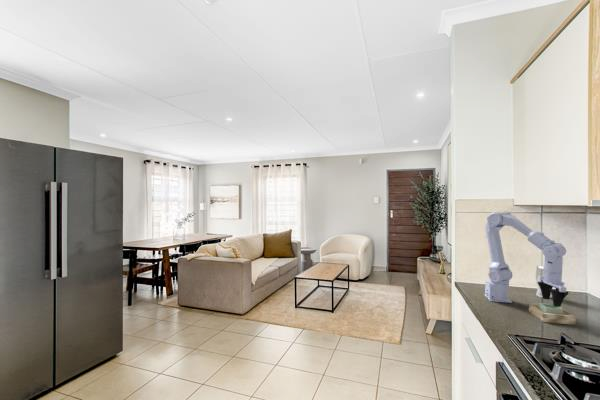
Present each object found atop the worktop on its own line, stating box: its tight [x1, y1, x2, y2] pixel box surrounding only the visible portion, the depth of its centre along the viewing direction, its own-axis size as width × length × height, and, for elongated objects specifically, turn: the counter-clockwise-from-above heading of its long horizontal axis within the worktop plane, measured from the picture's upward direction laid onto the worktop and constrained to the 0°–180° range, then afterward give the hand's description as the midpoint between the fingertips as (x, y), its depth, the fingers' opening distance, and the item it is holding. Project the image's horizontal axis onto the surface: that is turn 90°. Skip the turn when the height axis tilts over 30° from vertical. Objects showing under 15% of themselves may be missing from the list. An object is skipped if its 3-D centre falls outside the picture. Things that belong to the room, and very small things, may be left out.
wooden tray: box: [528, 303, 577, 326], centre depth 123 cm, size 12×11×4 cm
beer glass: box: [535, 265, 552, 299], centre depth 146 cm, size 7×7×15 cm
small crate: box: [538, 302, 564, 315], centre depth 123 cm, size 6×5×4 cm
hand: (551, 302), depth 123 cm, fingers open, 7 cm apart
